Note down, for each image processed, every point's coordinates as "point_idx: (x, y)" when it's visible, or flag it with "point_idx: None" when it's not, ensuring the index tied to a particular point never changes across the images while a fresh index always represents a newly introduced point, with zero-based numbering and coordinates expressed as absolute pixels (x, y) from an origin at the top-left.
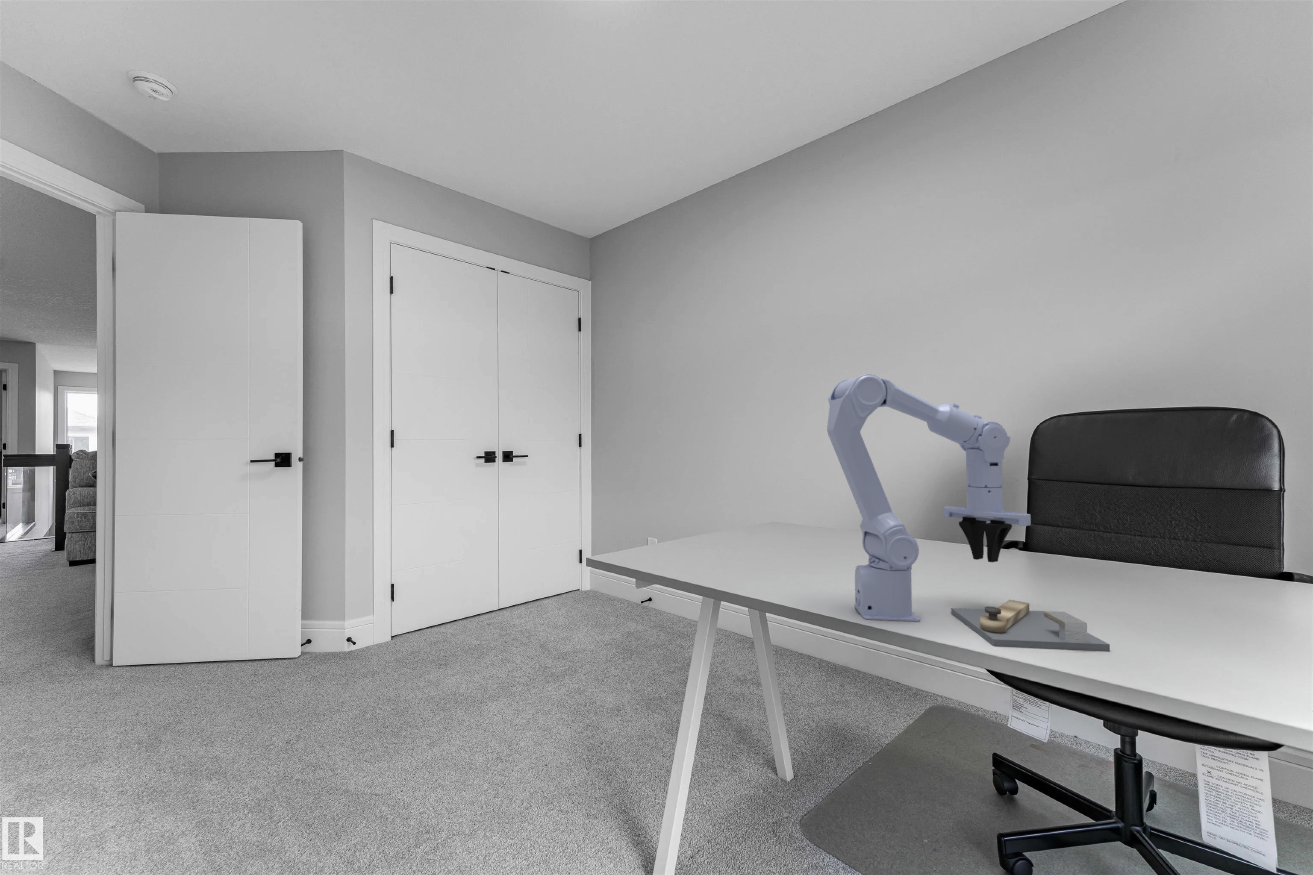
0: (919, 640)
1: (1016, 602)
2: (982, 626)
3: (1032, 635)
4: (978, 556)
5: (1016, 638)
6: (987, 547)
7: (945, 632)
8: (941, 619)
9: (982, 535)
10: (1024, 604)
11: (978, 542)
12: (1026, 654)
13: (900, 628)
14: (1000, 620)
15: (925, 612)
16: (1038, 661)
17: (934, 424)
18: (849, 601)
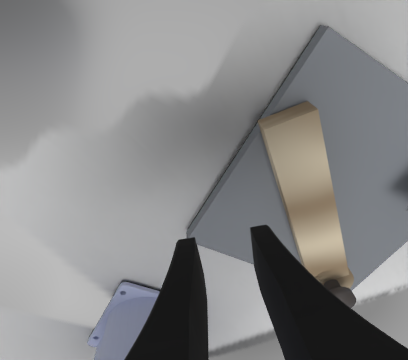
0: (263, 340)
1: (293, 140)
2: None
3: (380, 235)
4: (202, 275)
5: (367, 267)
6: (279, 337)
7: (258, 298)
8: (204, 264)
9: (193, 352)
10: (316, 137)
11: (200, 336)
12: (382, 268)
13: (213, 335)
14: (343, 279)
15: (155, 262)
16: (404, 274)
17: None
18: (48, 330)
